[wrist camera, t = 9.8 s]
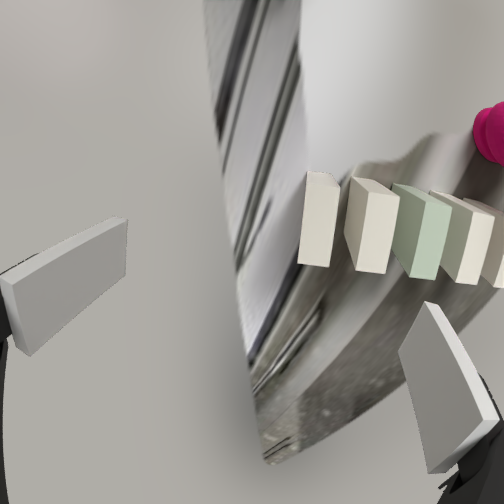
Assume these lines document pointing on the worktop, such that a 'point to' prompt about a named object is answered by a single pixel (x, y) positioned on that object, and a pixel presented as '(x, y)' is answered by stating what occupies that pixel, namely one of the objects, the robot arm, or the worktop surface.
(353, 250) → the tile
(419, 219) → the tile
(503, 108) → the pepper mill
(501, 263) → the tile
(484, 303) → the worktop surface
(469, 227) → the tile
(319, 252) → the tile
